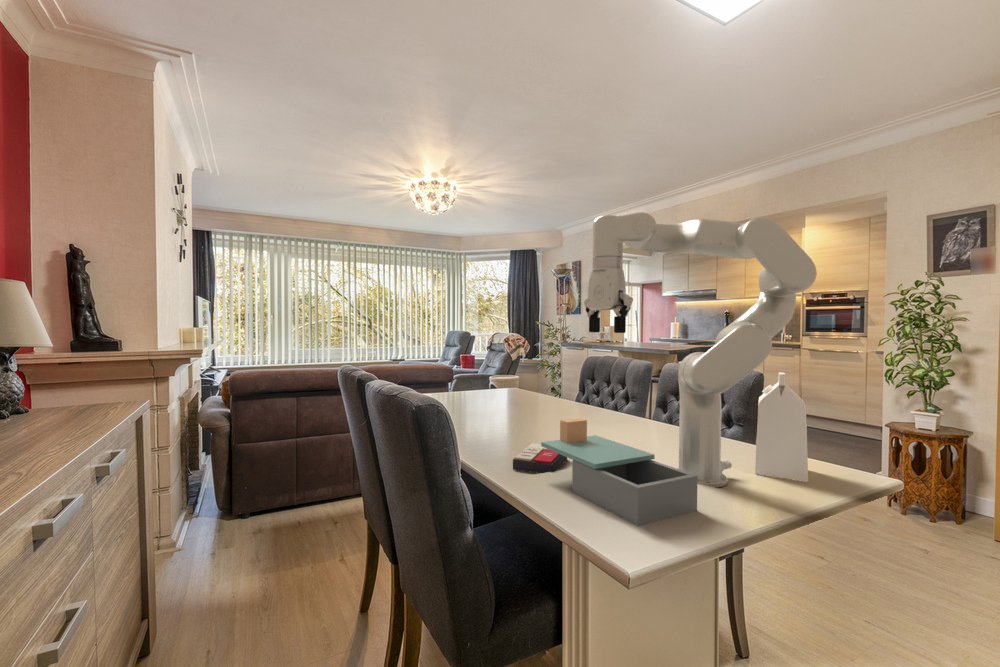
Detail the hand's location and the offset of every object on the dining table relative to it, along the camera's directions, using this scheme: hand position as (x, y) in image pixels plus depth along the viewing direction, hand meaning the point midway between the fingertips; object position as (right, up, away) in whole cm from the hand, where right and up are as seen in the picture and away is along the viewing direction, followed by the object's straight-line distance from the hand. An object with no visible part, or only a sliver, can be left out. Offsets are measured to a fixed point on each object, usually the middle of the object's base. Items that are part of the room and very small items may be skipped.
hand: (606, 332), depth 119 cm
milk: (+47, -37, +4) cm, 60 cm away
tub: (+1, -37, -21) cm, 42 cm away
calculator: (-16, -37, +8) cm, 41 cm away
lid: (-5, -28, -10) cm, 30 cm away
